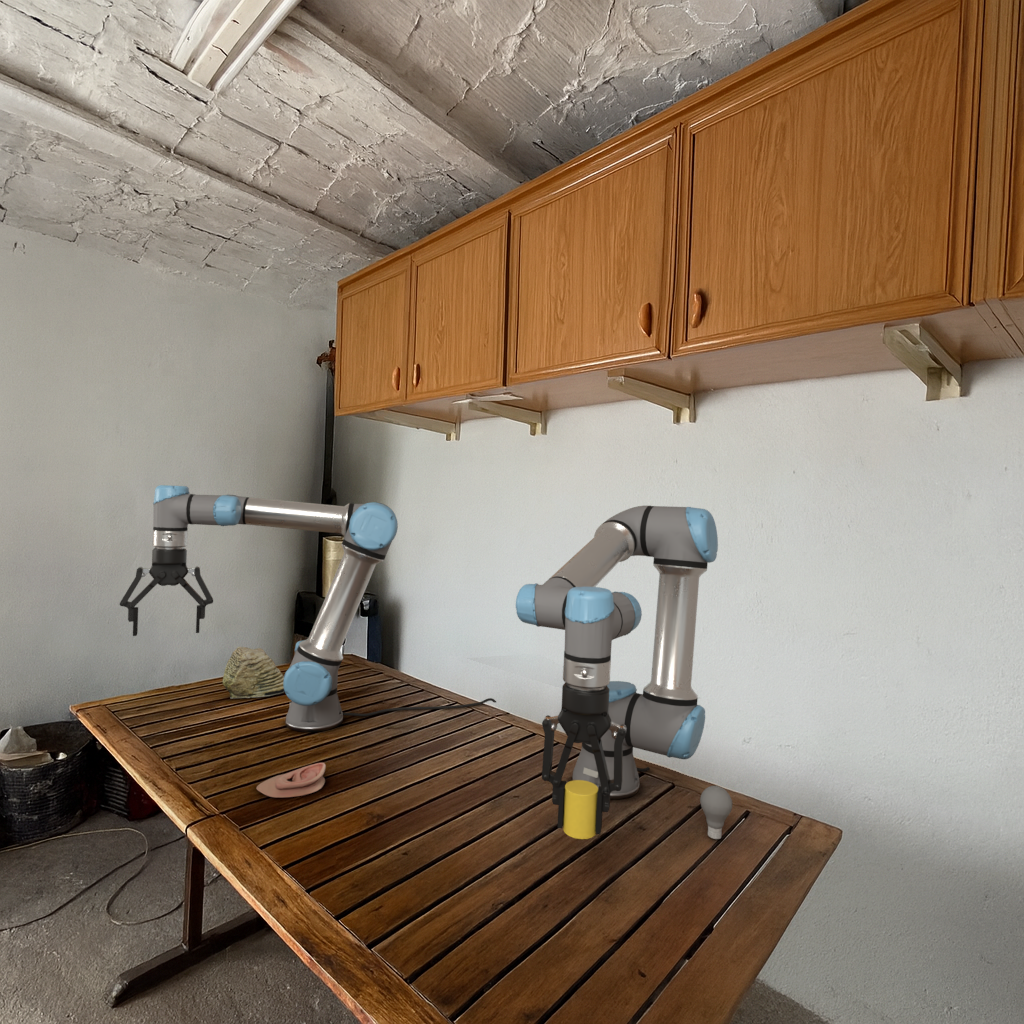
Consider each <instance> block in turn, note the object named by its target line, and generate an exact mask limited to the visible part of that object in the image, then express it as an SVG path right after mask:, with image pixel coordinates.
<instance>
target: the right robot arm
mask: <svg viewBox="0 0 1024 1024" xmlns="http://www.w3.org/2000/svg"><path fill="white" fill-rule="evenodd" d="M718 538H719V537H718V530H717V524H716V522H715V518H714V516H713V514H712V513H711V512H710V511H709V510H708V509H706V508H700V507H692V506H668V505H667V506H665V505H664V506H663V505H660V506H659V505H639V506H634V507H631V508H627V509H625V510H622V511H620V512H618V513H616V514H615V515H613V516H611V517H609V518H608V519H606V521H604V522H603V523H601V524H600V525H599V526H598V527H597V528H596V529H595V531H594V535H593V538H592V539H591V540H589V542H587V543H586V544H585V545H584V546H582V548H581V549H580V550H579V551H577V552H576V554H574V555H573V556H572V557H571V558H570V559H569V560H568V561H567V562H565V564H563V565H562V566H561V567H560V568H559V569H558V570H557V571H555V572H554V574H552V575H551V576H550V577H549V578H548V579H547V580H546V581H544V583H542V584H540V583H526V584H524V585H522V586H521V587H520V589H519V591H518V593H517V595H516V598H515V611H516V615H517V618H518V619H519V620H520V621H521V622H522V623H523V624H529V625H532V626H536V627H543V628H550V629H556V630H562V631H563V630H564V650H563V667H562V668H563V669H562V680H563V682H564V683H563V685H562V687H561V709H560V712H559V714H558V715H554V716H551V715H545V717H544V718H543V720H542V722H541V726H542V729H543V733H544V739H543V740H544V742H543V754H542V755H543V756H542V767H541V768H542V769H541V779H542V780H543V781H544V782H549V783H550V784H551V785H552V791H551V792H552V794H551V795H552V796H551V802H552V805H555V806H557V807H558V808H557V809H558V810H557V829H563V820H564V797H565V785H566V783H567V780H566V781H565V780H562V779H563V777H564V773H565V770H566V767H567V764H568V761H569V759H570V756H571V752H572V750H573V747H574V744H581V749H580V752H579V755H578V757H577V760H576V762H575V765H574V768H573V771H572V778H571V781H573V780H584V781H589V782H591V783H593V784H595V785H596V786H597V787H598V793H597V812H596V835H598V836H599V835H601V834H602V827H603V813H609V811H610V808H611V800H622V799H628V798H631V797H633V796H635V795H636V794H638V792H640V776H639V772H641V773H646V772H648V771H650V770H651V768H650V766H647V767H638V766H637V764H636V760H635V757H634V748H635V749H638V750H642V751H646V752H650V753H653V754H657V755H662V756H666V757H667V758H673V759H680V760H688V759H690V758H692V757H693V756H694V755H695V753H696V751H697V749H698V748H699V745H700V742H701V739H702V736H703V733H704V729H705V724H706V723H705V722H706V709H705V707H703V706H702V705H701V704H698V699H699V697H698V693H696V691H695V690H694V689H693V688H692V680H693V679H692V678H693V666H694V653H695V641H696V629H697V627H696V626H697V615H698V614H697V612H698V599H699V587H700V578H701V576H702V575H703V574H705V573H706V572H707V571H708V564H710V563H714V562H715V561H716V559H717V556H718V550H719V539H718ZM635 556H636V557H637V556H640V557H648V558H649V557H650V558H653V562H652V563H653V567H654V568H655V569H656V570H657V572H658V575H659V576H658V587H657V588H658V589H657V601H656V614H655V625H654V627H655V628H654V638H653V649H652V650H653V651H652V662H651V663H652V665H651V675H650V677H651V678H650V681H649V683H647V684H646V685H645V686H644V687H643V688H642V693H638V692H637V691H638V689H637V686H636V685H635V684H634V683H631V682H629V681H621V680H611V665H612V645H613V644H612V643H613V642H612V641H614V640H616V639H619V638H622V637H624V636H628V635H629V634H631V632H632V631H634V630H635V629H637V627H638V626H639V624H640V623H641V620H642V616H643V614H642V607H641V605H640V602H639V601H638V599H637V598H636V597H635V596H633V594H631V593H628V592H625V591H613V592H612V591H611V590H610V589H608V588H606V587H598V585H599V584H600V583H601V582H602V581H603V580H604V578H605V577H607V576H608V574H609V573H610V572H611V571H612V570H613V569H614V567H616V566H617V564H618V563H622V562H625V561H627V560H628V559H630V558H631V557H635ZM558 725H560V727H561V728H562V730H563V731H564V733H565V735H566V740H565V743H564V747H563V749H562V753H561V755H560V757H559V761H558V764H557V767H556V769H555V771H554V770H553V757H554V746H555V745H554V744H555V731H557V729H558Z"/></svg>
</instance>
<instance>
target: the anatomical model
mask: <svg viewBox="0 0 1024 1024" xmlns="http://www.w3.org/2000/svg"><path fill="white" fill-rule="evenodd" d="M326 768H327V765H326V763H325V762H316V763H313V764H309V765H306V766H302V767H300V768H297V769H294V770H292V771H289V772H286V773H282V774H278V775H275V776H273V777H270V778H267V779H265V780H264V781H262V782H261V783H259V784H258V785H256V790H257V792H259V793H261V794H263V795H264V796H267V797H270V798H275V799H278V798H293V797H294V798H295V797H300V796H301V797H302V796H306V795H309V794H312V793H315V792H318V791H320V790H321V789H322V788H323V787H324V785H325V783H326V778H325V777H324V775H325V772H326V770H327V769H326Z"/></svg>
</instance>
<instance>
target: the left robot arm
mask: <svg viewBox="0 0 1024 1024" xmlns="http://www.w3.org/2000/svg"><path fill="white" fill-rule="evenodd" d="M152 504H153V521H152V522H153V524H152V546H153V547H154V548H153V549H152V551H151V567H150V568H148V567H147V568H146V567H143V566H138V568H136V572H135V577H134V579H133V581H132V582H131V583H130V585H129V587H128V589H127V590H126V592H125V594H124V595H123V597H122V598H121V600H120V602H119V606H120V607H124V608H127V620H128V622H129V623H130V622H131V623H132V637H136V636H137V635H138V628H139V627H138V626H139V606H137V605H138V604H139V603H140V602H141V601H142V600H143V599H144V597H146V596H147V595H148V594H149V593H150V592H151V591H152V590H153V589H154V588H155V587H156V586H157V585H158V586H161V587H166V586H173V587H176V586H178V585H180V586H181V587H182V588H183V589H184V590H185V592H187V593H188V594H189V595H190V596H191V597H192V598H193V600H194V601H195V602H196V603H197V604H198V605H196V616H195V617H196V618H195V619H196V621H195V633H196V634H200V626H201V625H200V623H201V620H205V618H206V606H208V605H212V604H214V598H213V596H212V594H211V592H210V591H209V589H208V586H207V584H206V583H205V581H204V579H203V577H202V575H201V568H200V566H199V565H198V566H194V567H188V565H187V561H188V560H187V559H188V556H187V555H188V550H187V548H185V547H187V546H188V532H189V531H188V529H189V527H188V526H189V525H200V526H201V525H202V526H203V525H204V526H220V527H229V526H233V527H234V526H236V525H244V526H245V525H246V526H257V527H259V526H260V527H267V528H268V527H269V528H279V529H287V530H288V529H290V530H300V531H310V532H319V533H321V532H322V533H330V534H331V533H332V534H341V535H342V536H343V540H342V541H341V547H342V550H343V555H342V557H341V559H340V562H339V564H338V567H337V569H336V571H335V574H334V577H333V579H332V580H331V583H330V586H329V588H328V591H327V593H326V595H325V598H324V600H323V602H322V605H321V607H320V608H319V612H318V614H317V616H316V619H315V621H314V623H313V626H312V627H311V628H312V629H311V631H310V633H309V636H308V638H307V639H303V640H299V641H297V642H296V643H295V648H294V655H293V658H292V660H291V662H290V665H289V667H288V669H287V670H286V671H285V673H284V674H283V676H284V681H283V687H284V693H285V695H286V697H287V698H288V699H289V700H290V701H291V702H289V708H288V711H287V713H286V715H285V726H286V728H287V729H289V730H291V731H294V732H295V731H296V732H301V733H316V732H325V731H329V730H332V729H335V728H337V727H339V726H340V725H342V723H343V722H344V716H346V717H347V716H349V717H352V716H353V717H370V716H374V715H378V714H382V713H387V712H394V711H396V712H397V711H412V710H413V711H414V710H415V711H416V710H448V709H459V708H460V709H461V708H470V707H475V706H480V705H483V704H485V703H487V702H493V703H495V704H496V703H497V700H495V699H494V698H492V697H489V698H486V699H484V700H481V701H479V702H478V701H477V702H473V703H466V704H465V703H464V704H458V705H437V706H436V705H435V706H408V707H407V706H405V707H392V708H385V709H384V708H383V709H379V710H376V711H372V712H367V713H357V712H343V709H342V706H341V702H340V699H339V695H338V682H339V681H338V680H339V679H338V677H339V669H340V666H341V664H342V662H343V659H344V656H343V653H342V651H341V648H342V646H343V644H344V642H345V640H346V638H347V634H348V632H349V630H350V627H351V625H352V622H353V621H354V618H355V616H356V613H357V611H358V609H359V607H360V603H361V601H362V598H363V596H364V594H365V592H366V589H367V586H368V585H369V582H370V579H371V577H372V575H373V572H374V570H375V568H376V565H378V564H380V563H382V562H384V561H385V559H386V556H387V554H388V553H389V550H390V547H391V545H392V543H393V541H394V539H395V537H396V535H397V532H398V525H399V524H398V519H397V516H396V514H395V512H394V511H393V509H392V508H391V507H390V506H388V505H386V504H384V503H381V502H375V501H373V502H367V503H350V502H348V503H347V504H345V505H334V504H323V503H313V502H305V501H303V502H302V501H292V500H283V499H273V498H262V497H261V498H260V497H251V496H249V497H248V496H242V495H241V496H240V495H235V494H195V493H190V488H189V487H188V486H186V485H165V484H159V485H157V486H156V487H155V490H154V497H153V503H152ZM147 574H149V575H150V576H151V577H152V580H151V581H150V582H149V583H148V584H147V585H146V586H145V587H144V588H143V589H142V590H141V591H140V592H139V593H138V594H137V595H136V596H135V597H134V598H133V600H132V601H129V600H130V598H131V596H132V594H133V593H134V591H135V590H136V588H137V587H138V584H139V583H140V581H141V579H142V578H144V577H145V576H147ZM188 574H190V575H191V576H192V577H195V580H196V582H197V584H198V586H199V588H200V590H201V592H202V594H203V596H204V597H205V599H204V598H203V597H202V596H201V595H200V594H199V593H198V592H197V591H196V590H195V589H194V588H193V587H192V586H191V585H190V583H189V582H188V581H187V580H186V579H185V577H186V576H187V575H188Z"/></svg>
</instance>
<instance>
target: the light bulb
mask: <svg viewBox="0 0 1024 1024" xmlns="http://www.w3.org/2000/svg"><path fill="white" fill-rule="evenodd" d="M699 802H700V808H701V809H702V810H703V814H704V815H705V818H706V820H705V821H706V823H707V836H708V837H709V838H711V839H712V840H720V839H721V838H722V835H723V834H722V833H723V832H722V831H723V830H722V829H723V827H724V825H725V821H726V819H727V818H728V817H729V816H730V814H731V812H732V809H733V804H734V803H733V800H732V797H731V795H730V793H729V792H728V791H727V790H726V789H725V788H724V787H722V786H719V785H710V786H707V787H706V788H705V789H704V790H703V791H702V792H701V795H700V798H699Z"/></svg>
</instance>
